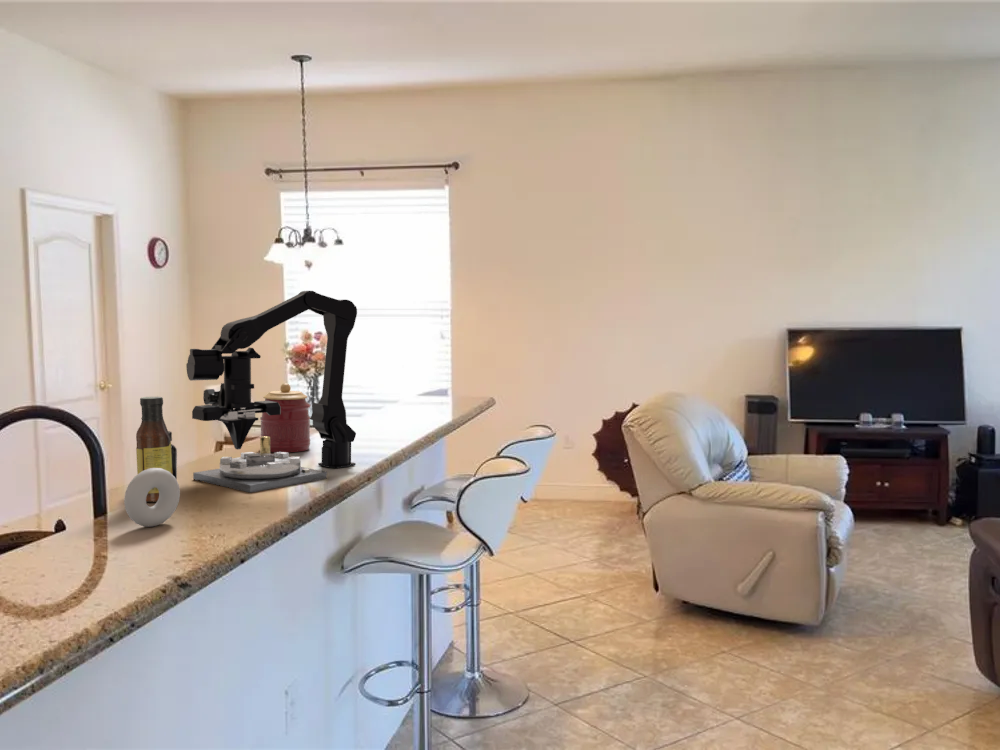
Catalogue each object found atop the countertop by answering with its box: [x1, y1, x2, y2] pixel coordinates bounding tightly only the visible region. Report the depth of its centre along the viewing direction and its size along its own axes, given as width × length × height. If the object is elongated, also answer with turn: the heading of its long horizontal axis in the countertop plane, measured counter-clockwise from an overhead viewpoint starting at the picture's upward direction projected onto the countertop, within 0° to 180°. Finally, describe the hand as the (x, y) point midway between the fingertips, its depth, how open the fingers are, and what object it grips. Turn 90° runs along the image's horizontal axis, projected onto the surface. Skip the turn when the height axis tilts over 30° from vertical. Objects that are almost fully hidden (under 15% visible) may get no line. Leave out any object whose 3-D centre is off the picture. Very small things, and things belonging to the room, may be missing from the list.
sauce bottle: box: [135, 396, 173, 503], centre depth 161 cm, size 6×6×20 cm
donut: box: [123, 468, 181, 528], centre depth 142 cm, size 10×4×10 cm, turn 148°
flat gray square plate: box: [192, 466, 328, 494], centre depth 184 cm, size 20×20×2 cm
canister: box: [259, 383, 312, 454], centre depth 223 cm, size 13×13×18 cm
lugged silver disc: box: [219, 436, 302, 479], centre depth 184 cm, size 17×17×6 cm
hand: (237, 449), depth 187 cm, fingers closed
